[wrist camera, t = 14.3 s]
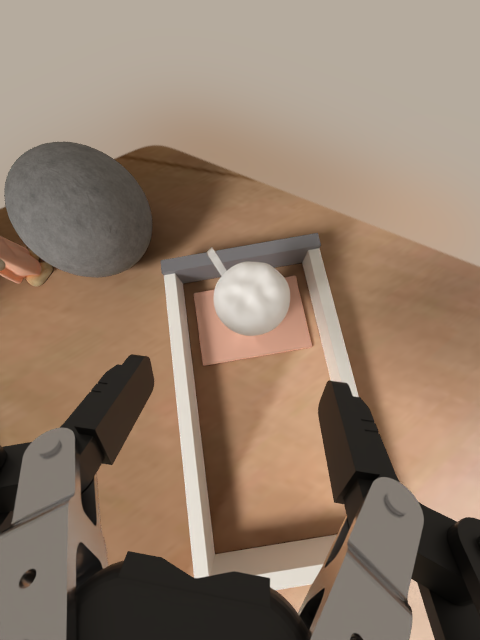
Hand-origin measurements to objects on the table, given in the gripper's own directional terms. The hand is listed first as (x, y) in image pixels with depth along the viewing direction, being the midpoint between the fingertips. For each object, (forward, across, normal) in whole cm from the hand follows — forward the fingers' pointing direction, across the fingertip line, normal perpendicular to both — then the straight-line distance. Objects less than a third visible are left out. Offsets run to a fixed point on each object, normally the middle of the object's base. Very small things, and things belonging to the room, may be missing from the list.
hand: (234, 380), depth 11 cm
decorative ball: (+16, +14, 0) cm, 21 cm away
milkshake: (+11, 0, +4) cm, 12 cm away
